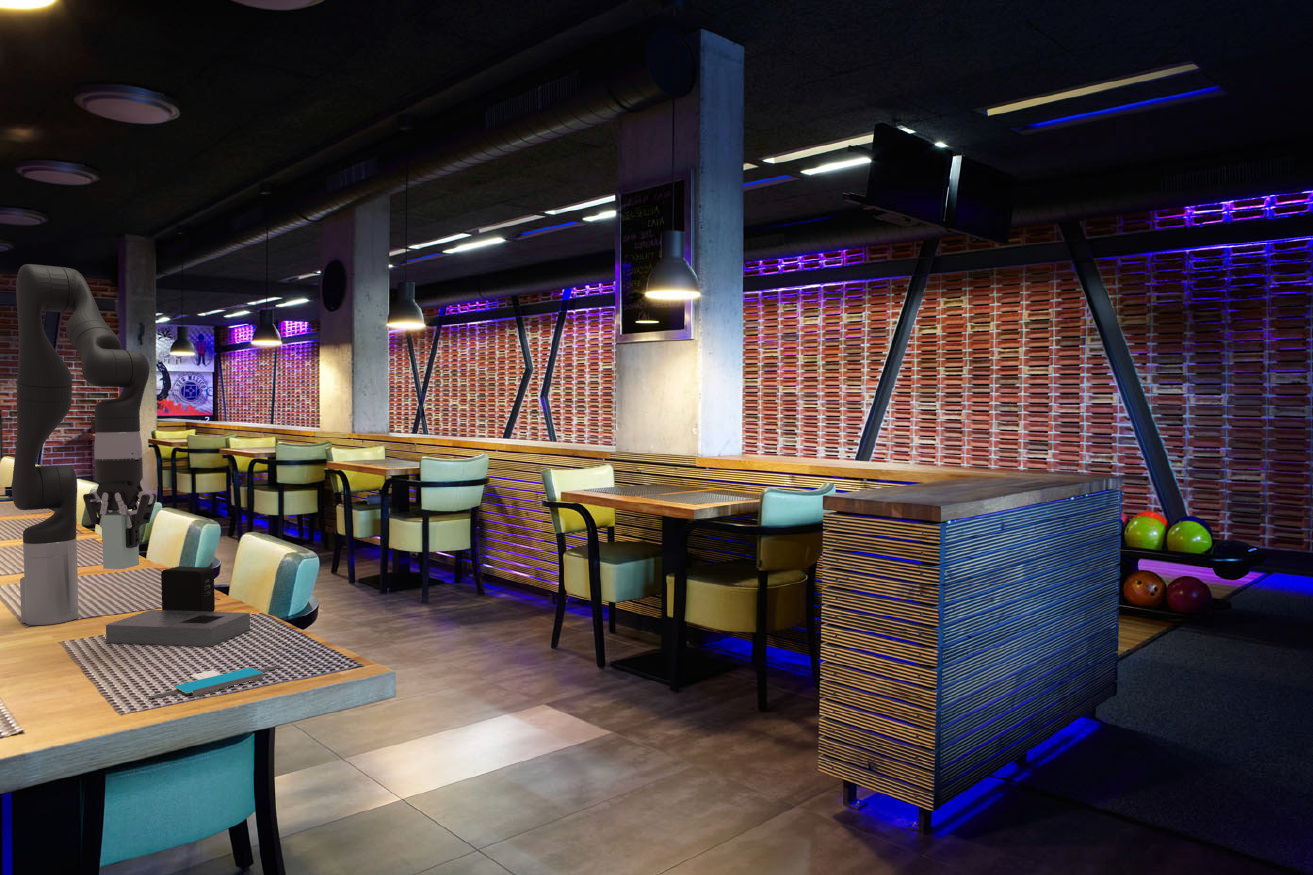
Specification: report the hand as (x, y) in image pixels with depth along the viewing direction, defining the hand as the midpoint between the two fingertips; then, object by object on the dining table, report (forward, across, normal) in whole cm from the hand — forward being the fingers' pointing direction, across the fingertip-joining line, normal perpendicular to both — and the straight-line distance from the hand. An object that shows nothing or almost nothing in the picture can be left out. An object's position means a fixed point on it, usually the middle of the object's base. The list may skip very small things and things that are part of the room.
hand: (121, 546), depth 155 cm
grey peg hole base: (+19, +4, +9) cm, 22 cm away
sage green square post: (+4, 0, 0) cm, 4 cm away
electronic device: (+20, -7, +26) cm, 33 cm away
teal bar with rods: (+20, +30, -14) cm, 39 cm away
